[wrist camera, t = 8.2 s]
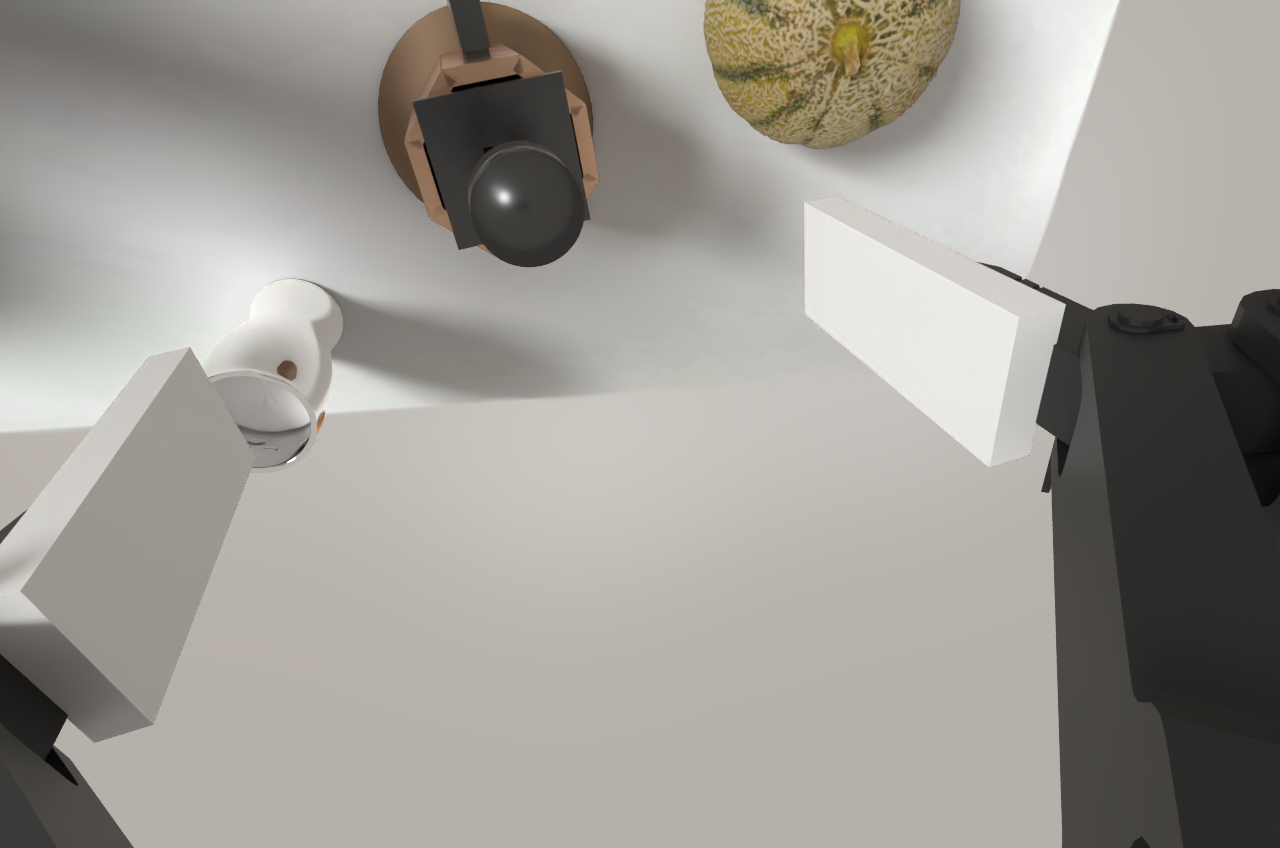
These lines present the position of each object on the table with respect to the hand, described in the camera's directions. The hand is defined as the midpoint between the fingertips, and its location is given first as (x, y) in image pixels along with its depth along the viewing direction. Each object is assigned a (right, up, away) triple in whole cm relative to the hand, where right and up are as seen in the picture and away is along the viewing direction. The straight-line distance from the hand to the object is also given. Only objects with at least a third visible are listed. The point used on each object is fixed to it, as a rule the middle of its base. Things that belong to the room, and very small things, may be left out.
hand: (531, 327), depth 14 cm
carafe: (-8, +19, +29) cm, 36 cm away
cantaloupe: (+12, +26, +32) cm, 43 cm away
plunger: (-7, +17, +28) cm, 34 cm away
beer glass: (-23, +6, +34) cm, 41 cm away
